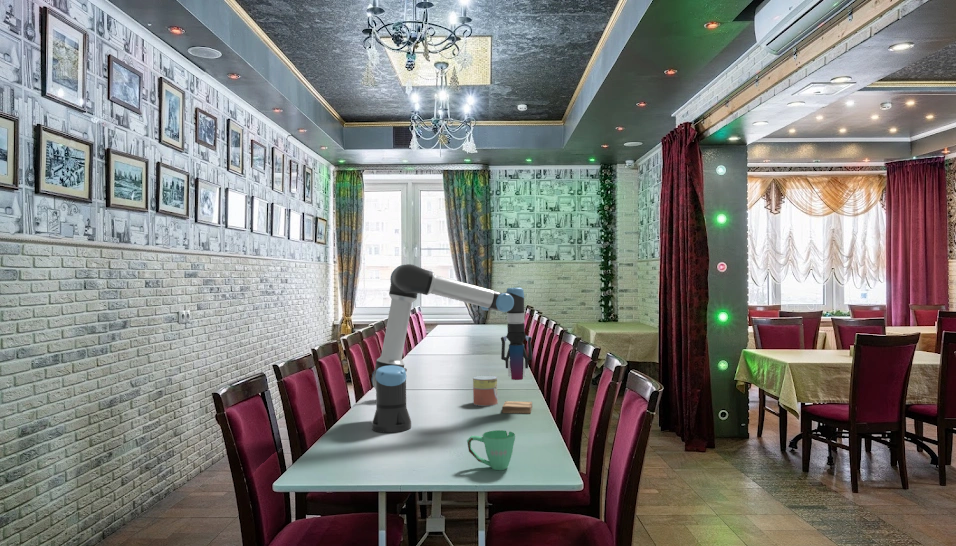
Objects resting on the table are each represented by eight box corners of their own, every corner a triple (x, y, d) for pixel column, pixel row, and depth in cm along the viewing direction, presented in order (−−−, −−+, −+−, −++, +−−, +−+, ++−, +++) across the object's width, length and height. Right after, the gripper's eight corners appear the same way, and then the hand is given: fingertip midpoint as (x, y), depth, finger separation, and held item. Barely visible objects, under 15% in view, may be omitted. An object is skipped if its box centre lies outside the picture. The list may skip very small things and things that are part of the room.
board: (530, 413, 248) (530, 407, 248) (502, 412, 250) (502, 406, 250) (532, 407, 260) (532, 401, 260) (505, 406, 262) (505, 401, 262)
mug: (515, 462, 182) (515, 430, 182) (515, 472, 172) (514, 438, 172) (468, 462, 183) (468, 430, 183) (465, 472, 173) (465, 438, 173)
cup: (515, 377, 260) (514, 343, 260) (528, 378, 256) (527, 344, 256) (506, 379, 255) (505, 344, 255) (519, 380, 251) (518, 345, 251)
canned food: (496, 406, 264) (495, 379, 264) (471, 405, 266) (471, 379, 266) (499, 401, 275) (498, 375, 275) (475, 400, 277) (475, 375, 277)
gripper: (538, 322, 258) (539, 374, 258) (495, 322, 261) (496, 374, 261) (537, 323, 251) (538, 377, 250) (493, 323, 254) (494, 377, 253)
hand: (517, 375), depth 255 cm, fingers closed on cup, 6 cm apart
